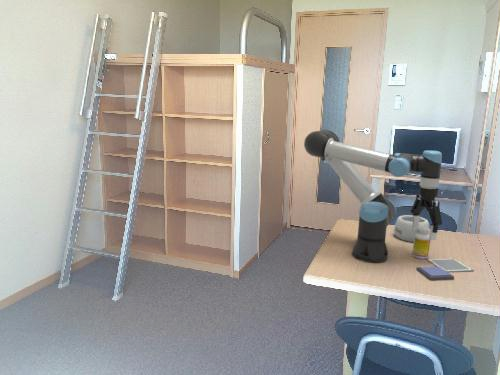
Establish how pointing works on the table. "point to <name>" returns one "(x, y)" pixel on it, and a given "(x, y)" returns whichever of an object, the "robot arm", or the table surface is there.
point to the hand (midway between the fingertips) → (423, 234)
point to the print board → (450, 265)
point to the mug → (408, 227)
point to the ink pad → (435, 273)
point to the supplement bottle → (421, 243)
